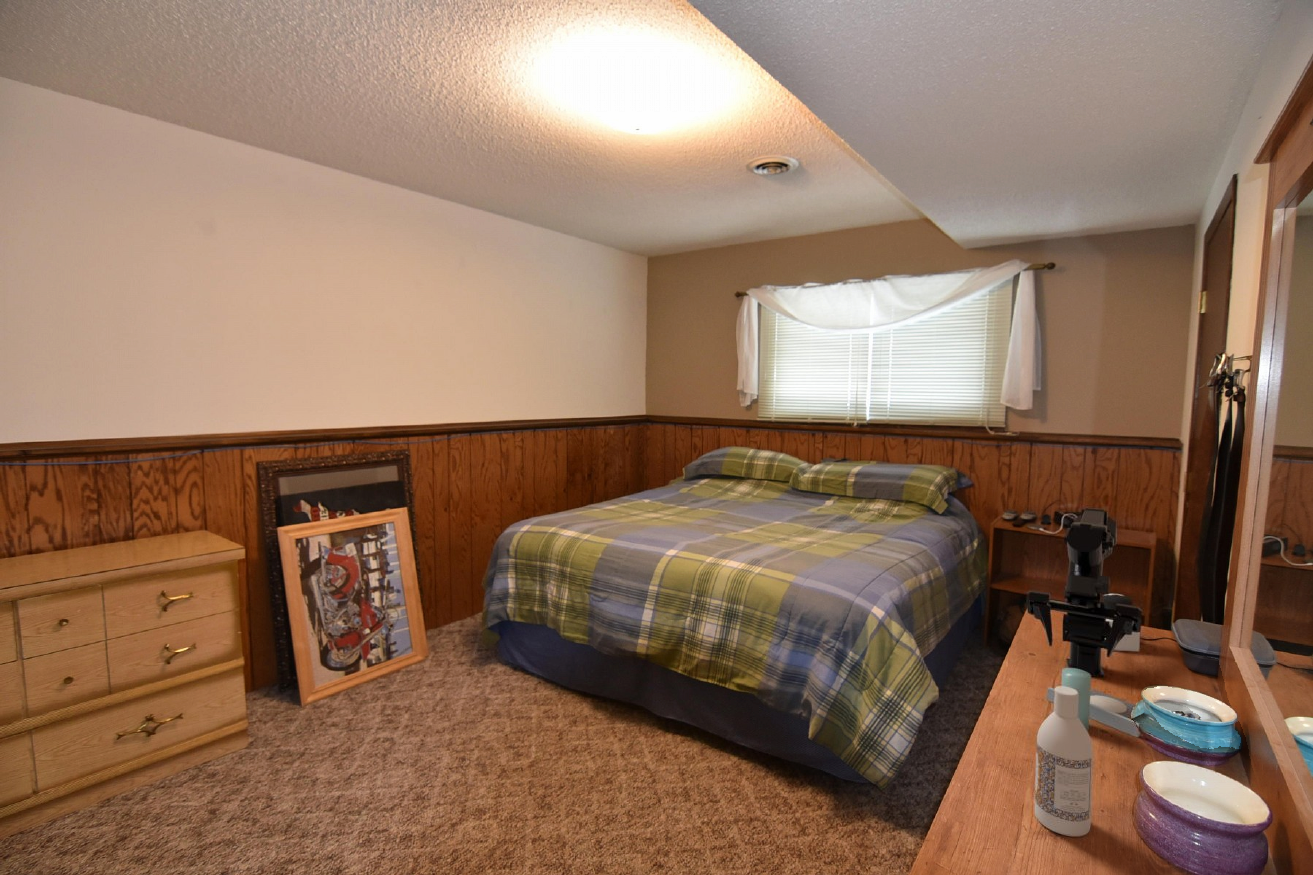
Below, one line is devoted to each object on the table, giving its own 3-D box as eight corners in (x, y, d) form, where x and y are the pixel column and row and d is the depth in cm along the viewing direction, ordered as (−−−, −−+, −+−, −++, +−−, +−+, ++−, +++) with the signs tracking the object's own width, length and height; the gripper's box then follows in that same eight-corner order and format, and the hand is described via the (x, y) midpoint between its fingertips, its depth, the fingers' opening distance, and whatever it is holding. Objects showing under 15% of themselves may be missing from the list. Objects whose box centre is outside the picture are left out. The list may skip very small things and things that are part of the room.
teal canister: (1059, 716, 124) (1060, 666, 123) (1087, 721, 122) (1089, 670, 121) (1061, 728, 120) (1063, 675, 119) (1090, 733, 118) (1092, 680, 117)
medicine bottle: (1140, 652, 151) (1142, 601, 150) (1105, 650, 153) (1107, 600, 151) (1124, 640, 158) (1126, 591, 157) (1091, 638, 160) (1093, 590, 158)
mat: (1068, 705, 128) (1068, 699, 128) (1093, 693, 132) (1094, 688, 132) (1119, 726, 120) (1119, 720, 120) (1144, 713, 124) (1144, 707, 124)
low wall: (1046, 699, 130) (1047, 687, 130) (1049, 698, 131) (1049, 686, 130) (1137, 737, 116) (1137, 724, 116) (1139, 736, 117) (1139, 722, 116)
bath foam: (1039, 800, 100) (1043, 674, 98) (1093, 819, 95) (1098, 688, 94) (1029, 824, 95) (1033, 692, 93) (1086, 845, 90) (1092, 707, 88)
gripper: (1028, 551, 132) (1019, 621, 124) (1143, 565, 121) (1141, 642, 113) (1032, 579, 139) (1023, 646, 131) (1141, 594, 128) (1139, 669, 120)
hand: (1078, 650), depth 123 cm, fingers open, 9 cm apart
